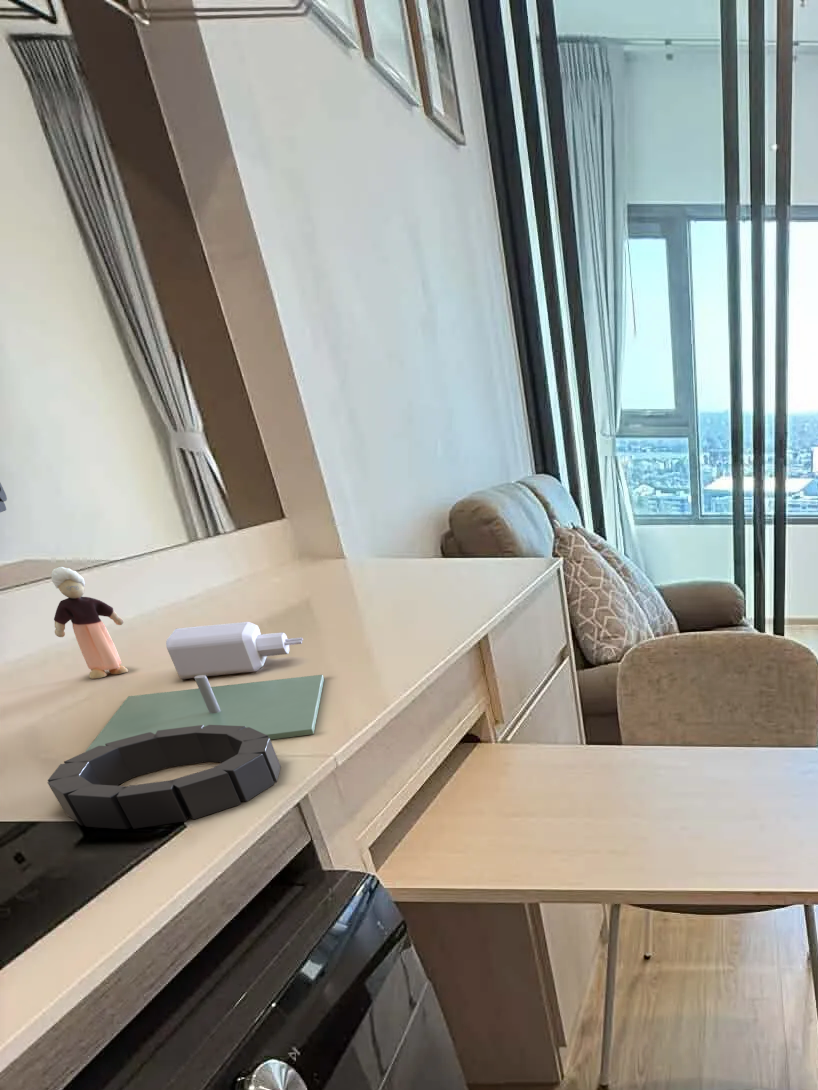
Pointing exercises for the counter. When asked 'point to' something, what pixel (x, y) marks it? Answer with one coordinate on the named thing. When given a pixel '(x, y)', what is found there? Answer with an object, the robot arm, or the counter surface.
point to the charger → (224, 649)
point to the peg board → (222, 709)
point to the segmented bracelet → (103, 804)
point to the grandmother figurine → (87, 623)
